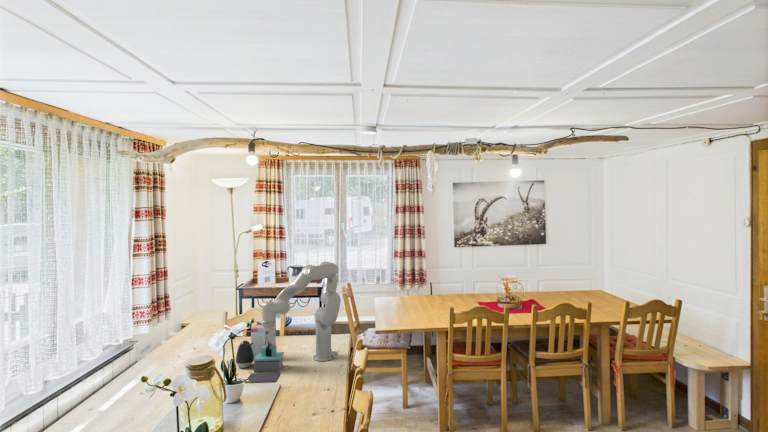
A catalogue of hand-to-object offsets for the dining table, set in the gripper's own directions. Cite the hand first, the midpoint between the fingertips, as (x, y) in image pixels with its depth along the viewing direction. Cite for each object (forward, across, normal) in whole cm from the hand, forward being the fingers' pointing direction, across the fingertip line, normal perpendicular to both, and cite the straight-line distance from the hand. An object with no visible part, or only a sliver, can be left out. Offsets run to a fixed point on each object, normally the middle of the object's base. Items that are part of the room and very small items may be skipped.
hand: (269, 354), depth 220 cm
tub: (+8, 0, 0) cm, 8 cm away
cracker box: (+8, +16, +7) cm, 19 cm away
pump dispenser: (+8, +5, +15) cm, 18 cm away
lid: (+1, 0, 0) cm, 2 cm away
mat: (+8, -13, 0) cm, 15 cm away
